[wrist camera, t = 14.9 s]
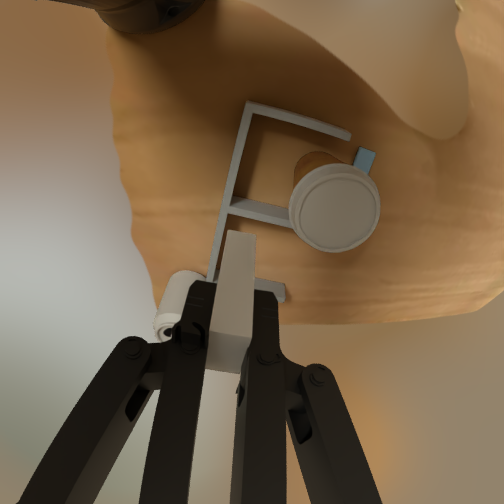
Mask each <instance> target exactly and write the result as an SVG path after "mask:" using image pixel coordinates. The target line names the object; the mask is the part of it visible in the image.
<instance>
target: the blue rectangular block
mask: <svg viewBox="0 0 504 504" xmlns="http://www.w3.org/2000/svg"><path fill="white" fill-rule="evenodd" d="M375 155H376V153H375V152H372V151H370V150H367V149H365V148H362V147H360V146H359V149H358V151H357V154H356V157H355V159H354V162H353V165H352V166H355V167H357V168H359V169H361V170H362V171H364V172H365V173H367V174H368V173H369V170H370V168H371V165H372V163H373V160H374V158H375Z"/></svg>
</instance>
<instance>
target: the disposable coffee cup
mask: <svg viewBox="0 0 504 504" xmlns="http://www.w3.org/2000/svg"><path fill="white" fill-rule="evenodd" d="M380 205H381V203H380V195H379V191H378V189H377V186H376V185H375V183H374V181H373V180H372V179H371V178H370V176H369V175H368V174H367V173H365V172H364V171H362V170H361V169H359V168H357V167H355V166H352V165H348V164H345V163H343V162H341V161H340V160H338V159H336V158H335V157H333V156H331V155H330V154H328V153H325V152H311V153H309V154H307V155H305V156H304V157H302V158H301V159H300V160H299V162H298V163H297V165H296V167H295V171H294V188H293V193H292V195H291V198H290V201H289V219H290V222H291V225H292V227H293V230H294V231H295V232H296V234H297V235H298V236H299V237H300V238H301V239H302V240H303V241H304V242H306V243H308V244H309V245H310V246H311V247H313V248H315V249H318V250H320V251H323V252H330V253H336V252H343V251H347V250H350V249H353V248H355V247H357V246H359V245H360V244H362V243H363V242H364V241H366V240H367V239H368V238H369V236H370V235H371V234H372V233H373V231H374V230H375V228H376V226H377V224H378V221H379V216H380Z"/></svg>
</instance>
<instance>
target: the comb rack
mask: <svg viewBox="0 0 504 504" xmlns="http://www.w3.org/2000/svg"><path fill="white" fill-rule="evenodd" d="M253 113H256V114H260V115H264V116H268V117H272V118H276V119H279V120H283V121H287V122H290V123H294V124H297V125H300V126H304V127H307V128H310V129H313V130H317V131H320V132H323V133H326V134H329V135H332V136H334V137H337V138H340V139H343V140H346V141H348V142H349V141H350V138H351V135H352V134H351V133H349V132H348V131H346V130H345V129H343V128H340V127H337V126H335V125H332V124H329V123H326V122H323V121H320V120H317V119H314V118H311V117H308V116H304V115H301V114H298V113H294V112H291V111H287V110H284V109H280V108H276V107H273V106H269V105H265V104H261V103H257V102H253V101H248V100H247V102H246V104H245V108H244V112H243V116H242V120H241V124H240V127H239V131H238V136H237V140H236V144H235V148H234V152H233V156H232V160H231V165H230V169H229V173H228V177H227V182H226V186H225V191H224V195H223V200H222V204H221V209H220V213H219V218H218V223H217V227H216V232H215V237H214V242H213V247H212V252H211V257H210V262H209V267H208V272H207V277H206V281H207V282H212V283H218V278H219V273H220V270H218V269H215V268H216V263H217V259H218V254H219V249H220V245H221V240H222V236H223V232H224V227H225V223H226V218H227V214H228V213H229V214H233V215H238V216H242V217H246V218H251V219H255V220H259V221H263V222H268V223H272V224H276V225H280V226H284V227H288V228H292V229H293V227H292V225H291V222H290V219H289V209H287V208H283V207H279V206H275V205H271V204H267V203H262V202H258V201H254V200H250V199H246V198H242V197H237V196H233V195H232V193H233V189H234V185H235V180H236V176H237V172H238V168H239V164H240V160H241V156H242V152H243V148H244V144H245V140H246V136H247V133H248V129H249V125H250V121H251V117H252V114H253ZM254 289H258V290H264V291H270V292H273V293H274V295H275V296H276V298H277V300H278V302H282V303H284V301H285V299H286V297H285V285H284V284H283V283H279V282H274V281H269V280H264V279H259V278H254Z"/></svg>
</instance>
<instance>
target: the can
mask: <svg viewBox="0 0 504 504" xmlns="http://www.w3.org/2000/svg"><path fill="white" fill-rule="evenodd" d="M195 280H201V281H206V278H205V277H204V276H202V275H201V274H199V273H196V272H193V271H188V270H186V271H179V272H176V273H174V274H173V275H172V276H171V277H170V280H169V282H168V284H167V287H166V290H165V292H164V295H163V297H162V300H161V303H160V306H159V308H158V311H157V314H156V316H155V319H154V322H153V327H154V330H155V337H156V338H157V340H158V341H159V342H165V341H167V340H169V339H171V338H172V333H171V329H172V327H173V326H174V324H175V323H177V322H178V321H179V320H180V319H181V315H182V312H183V308H184V304H185V301H186V297H187V294H188V290H189V287H190V286H191V285H192V283H193V282H194V281H195Z"/></svg>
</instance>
